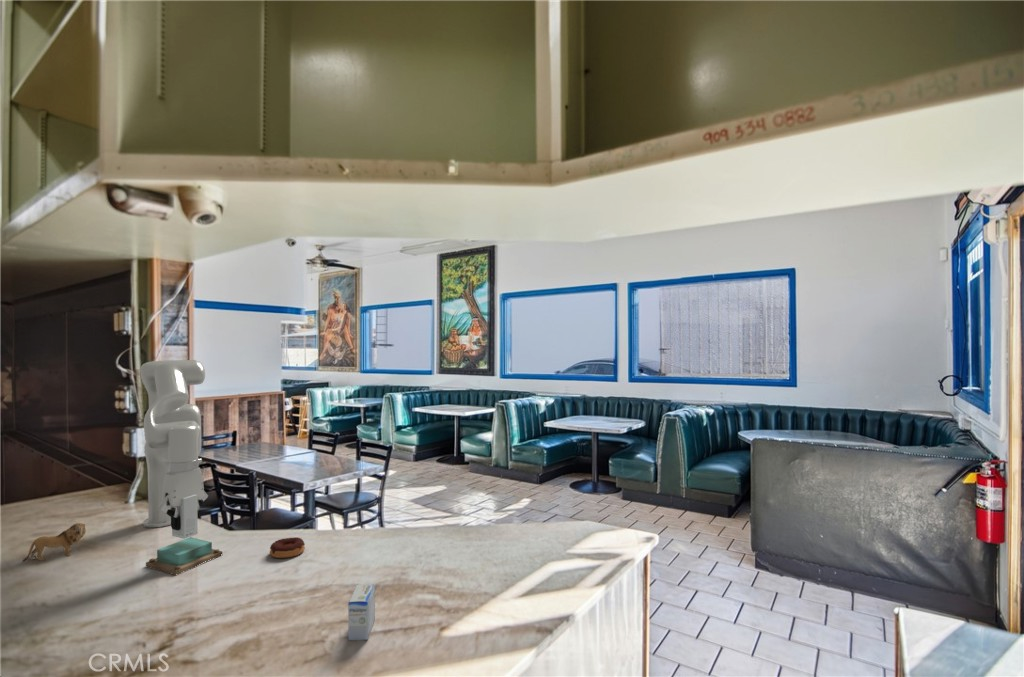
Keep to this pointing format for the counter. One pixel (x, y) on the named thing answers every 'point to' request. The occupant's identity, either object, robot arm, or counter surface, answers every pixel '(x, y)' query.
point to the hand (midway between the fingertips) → (184, 525)
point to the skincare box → (187, 518)
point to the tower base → (181, 568)
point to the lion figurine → (58, 541)
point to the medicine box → (361, 612)
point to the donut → (287, 547)
